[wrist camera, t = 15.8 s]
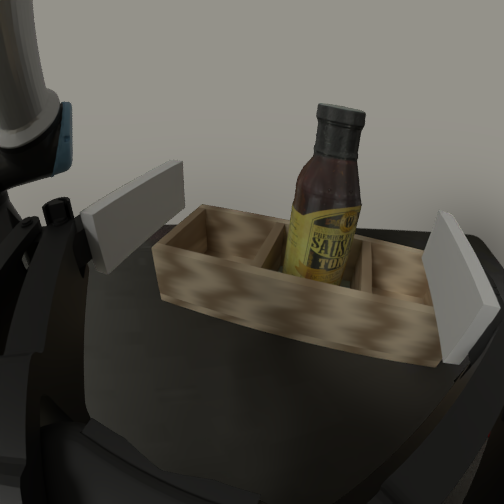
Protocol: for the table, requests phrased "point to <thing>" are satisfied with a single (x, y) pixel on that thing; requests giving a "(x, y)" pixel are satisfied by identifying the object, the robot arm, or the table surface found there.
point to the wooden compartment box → (299, 287)
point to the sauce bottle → (326, 199)
